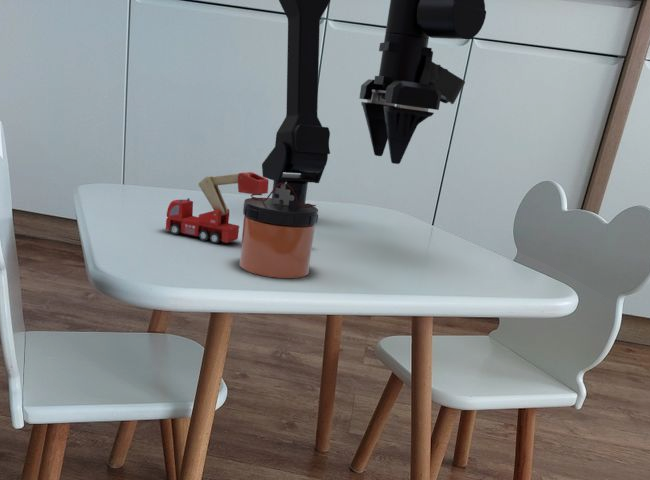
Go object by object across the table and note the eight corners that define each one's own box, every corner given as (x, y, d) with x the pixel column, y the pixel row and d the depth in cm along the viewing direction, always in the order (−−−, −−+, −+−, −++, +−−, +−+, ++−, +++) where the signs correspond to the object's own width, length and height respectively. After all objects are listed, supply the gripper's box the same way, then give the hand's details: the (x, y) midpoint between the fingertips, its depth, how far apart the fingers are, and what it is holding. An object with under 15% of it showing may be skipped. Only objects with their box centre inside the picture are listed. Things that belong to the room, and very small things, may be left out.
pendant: (245, 200, 79) (247, 177, 78) (251, 195, 84) (254, 173, 83) (313, 210, 79) (316, 187, 78) (316, 205, 83) (319, 182, 82)
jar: (237, 256, 86) (242, 199, 83) (302, 262, 87) (310, 206, 85) (241, 274, 78) (248, 212, 76) (313, 281, 80) (322, 219, 77)
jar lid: (240, 207, 84) (242, 194, 83) (310, 214, 85) (311, 202, 85) (245, 221, 76) (247, 207, 75) (322, 228, 77) (324, 215, 77)
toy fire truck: (174, 228, 96) (179, 158, 93) (262, 248, 92) (270, 175, 89) (161, 231, 93) (165, 159, 90) (251, 251, 89) (259, 176, 86)
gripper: (492, 43, 82) (465, 175, 88) (441, 48, 99) (421, 158, 105) (404, 29, 80) (382, 165, 86) (367, 37, 97) (350, 150, 103)
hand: (386, 159), depth 95 cm, fingers open, 9 cm apart
